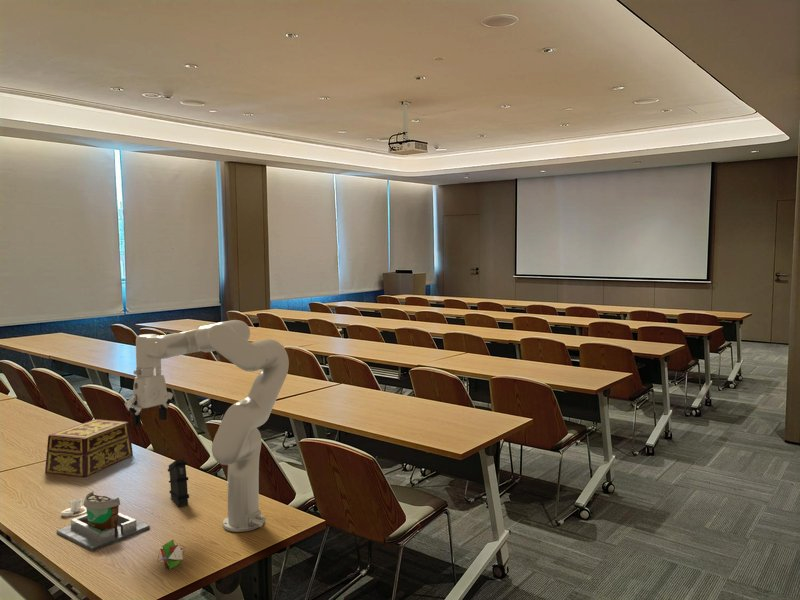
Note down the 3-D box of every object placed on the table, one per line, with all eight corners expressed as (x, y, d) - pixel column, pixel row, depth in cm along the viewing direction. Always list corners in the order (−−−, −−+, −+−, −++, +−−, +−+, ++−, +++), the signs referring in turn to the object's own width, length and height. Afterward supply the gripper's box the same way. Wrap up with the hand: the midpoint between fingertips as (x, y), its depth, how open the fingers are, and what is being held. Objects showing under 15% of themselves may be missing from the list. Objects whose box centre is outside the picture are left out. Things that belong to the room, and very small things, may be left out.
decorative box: (96, 451, 259) (95, 417, 258) (133, 455, 255) (132, 421, 254) (44, 473, 232) (43, 435, 232) (85, 478, 228) (84, 439, 227)
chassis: (149, 528, 186) (149, 517, 185) (92, 551, 171) (92, 539, 170) (113, 513, 197) (113, 502, 196) (56, 533, 182) (56, 522, 181)
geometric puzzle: (147, 560, 162) (160, 540, 160) (165, 548, 168) (178, 530, 166) (164, 579, 160) (177, 559, 158) (181, 567, 167) (195, 548, 164)
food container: (74, 530, 182) (74, 498, 181) (92, 522, 187) (92, 491, 187) (103, 538, 177) (102, 505, 176) (120, 529, 182) (120, 497, 182)
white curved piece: (63, 520, 191) (63, 508, 191) (55, 513, 197) (55, 500, 197) (92, 512, 198) (92, 500, 198) (84, 505, 203) (84, 493, 203)
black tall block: (180, 506, 199) (174, 460, 203) (171, 510, 209) (166, 466, 213) (191, 503, 201) (186, 458, 205) (182, 507, 211) (176, 464, 216)
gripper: (132, 377, 188) (133, 430, 189) (178, 368, 202) (179, 418, 203) (117, 374, 192) (119, 427, 193) (164, 366, 206) (165, 415, 207)
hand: (150, 422), depth 198 cm, fingers open, 9 cm apart
